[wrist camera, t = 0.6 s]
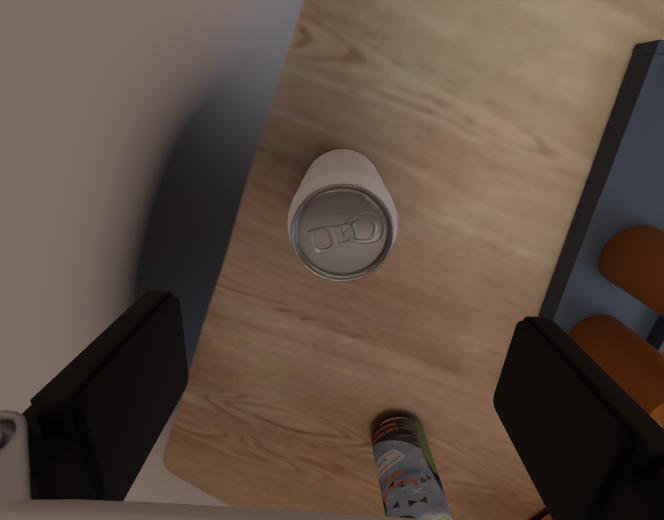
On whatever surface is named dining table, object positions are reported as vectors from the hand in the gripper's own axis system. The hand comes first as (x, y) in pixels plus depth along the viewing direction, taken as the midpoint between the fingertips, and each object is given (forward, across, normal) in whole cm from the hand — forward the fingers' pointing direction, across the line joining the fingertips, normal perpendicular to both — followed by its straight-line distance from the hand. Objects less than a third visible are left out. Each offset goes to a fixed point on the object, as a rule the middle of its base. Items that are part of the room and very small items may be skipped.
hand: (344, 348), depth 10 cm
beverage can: (+23, -9, +28) cm, 37 cm away
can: (+22, 0, 0) cm, 22 cm away
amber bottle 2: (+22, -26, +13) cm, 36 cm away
